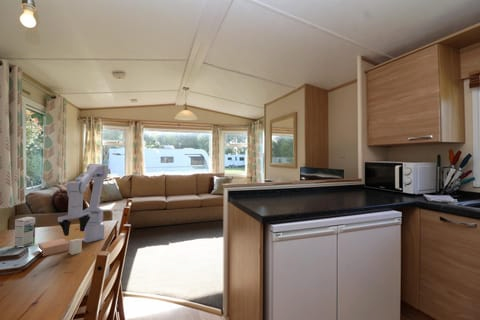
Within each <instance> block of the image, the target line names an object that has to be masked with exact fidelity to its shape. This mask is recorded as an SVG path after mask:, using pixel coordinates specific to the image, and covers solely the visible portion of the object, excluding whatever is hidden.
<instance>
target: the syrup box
mask: <svg viewBox="0 0 480 320" xmlns="http://www.w3.org/2000/svg"><path fill="white" fill-rule="evenodd" d="M35 240H36V217H34V216H25V217H20V218H15V220H14V244H13V245H14V246H27V245H30V246H34V245H35V244H36V241H35ZM14 246H13V247H14ZM27 247H28V246H27Z"/></svg>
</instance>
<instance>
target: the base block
mask: <svg viewBox="0 0 480 320" xmlns="http://www.w3.org/2000/svg"><path fill="white" fill-rule="evenodd" d="M37 244H38V246H37V248H38V247H39V248H40V249H41V250H42V251H43V255H42V256H43V257H45V256H49V255H55V254H58V253H62V252H66V251H69V245H70V241H68V240H66V239H65V238H60V239H55V240H49V241H44V242H39V243H37Z"/></svg>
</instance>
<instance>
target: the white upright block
mask: <svg viewBox="0 0 480 320" xmlns="http://www.w3.org/2000/svg"><path fill="white" fill-rule="evenodd" d="M81 239H82V238H74V239H70V240H69V250H68V253H69V254H70V255H71V256H73V255H77V254H81V253H82V250H83V249H82V247H83V240H81Z"/></svg>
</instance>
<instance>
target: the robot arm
mask: <svg viewBox="0 0 480 320" xmlns="http://www.w3.org/2000/svg"><path fill="white" fill-rule="evenodd" d="M108 173H109V166H108V165H107V164H106V163H104V164H102V163H88V165H87V166H86V171H85V172H84V173H81V174H79V176H77V177H76V178H75V179H74V180H72V181H69V182H68V183H67V185H66V188H65V189H66V193H67V195H66V196H67V198H68V206H67V214H65V215H62V216H59V217H57V222H58V224H59V225H60V227H61V229H62V232H63V236H65V237H68V236H69V235H70V227H71V223H72V221H70V220H74V219H75V220H76V219H78V220H79V232H84V233H83V237H82V238H80V239H81V240H82V242H84V243H86V244H87V243H90V242H91V243H92V242H95V241H96V242H97V241H99V240H101V241H102V240H105V224H104V222H103V220H104V210H103V209H102V208H101V207H100V203H101V197H102V191H103V186H104V181H105V180H106V179H107V178H108ZM92 180H93V185H92V190H91V195H90V201H89V205H88V207H86V208H85V209H84V208H83V203H84V193H85V191H86V189H87V185H88V184H90V182H91V181H92Z"/></svg>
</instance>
